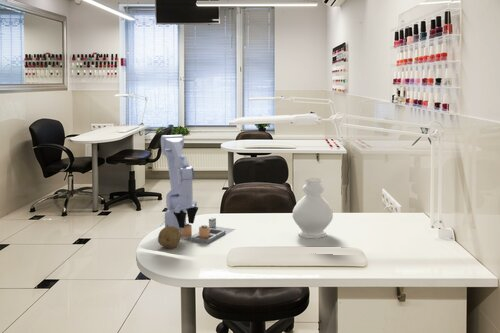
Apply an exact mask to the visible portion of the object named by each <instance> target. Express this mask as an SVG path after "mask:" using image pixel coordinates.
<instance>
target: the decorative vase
mask: <svg viewBox="0 0 500 333" xmlns="http://www.w3.org/2000/svg"><path fill="white" fill-rule="evenodd" d="M304 182H305V184H303V186H302V191H303V192H304V193H305V195H304V196H303V197H301V198H300V199H299V200H298V201H297V203H296V204H295V205H294V207H293V209H292V219H293V221H294V222H295V224H296V225H297V227H299V229H300V230H299V231H298V232H297V234H298V236H300V237H302V238H305V239H322V238H325V237H326V236H327V232H326V231H325V230H326V228H327V227H328V226H329V225H330V223H331V222H332V220H333V216H334V215H333V209H332V207H331V205H330V204H329V202H328V201H327V200H326V199H325V198H324V197H323V196H322V195H321V194H322V193H323V192H324V190H325V187H324V185H323V184H322V182H323V179H322V178H318V177H306V178H305V179H304ZM324 236H325V237H324ZM321 237H322V238H321Z"/></svg>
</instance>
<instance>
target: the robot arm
mask: <svg viewBox="0 0 500 333" xmlns="http://www.w3.org/2000/svg"><path fill="white" fill-rule="evenodd" d="M184 144H185V139H184V136H183V134H170V135H169V134H168V135H167V134H165V135H164V134H162V135H161V137H160V147H161V153H162V155H164V156H165V158H166V162H167V168H168V175H169V181H170V182H169V183H170V191H168V192H167V194H166V196H165V201H166V202H165V204H166V208H167V210H166V211H165V213H164V228H165V227H167V226H174V227H176V228H177V229H178V230H181V228H184V226H185V224H187V222H188V224H190V225H192V224H194V222H195V218H196V214H197V212H198V210H199V206H198V202H197V201H194V200H193V194H194V193H193V180H194V179H195V171H194V167H193V166H192V165H190V162H189V161H188V160H189V159H188V157H187V156H186V155H184V152H183V149H184V146H185V145H184Z"/></svg>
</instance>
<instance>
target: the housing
mask: <svg viewBox="0 0 500 333" xmlns="http://www.w3.org/2000/svg"><path fill="white" fill-rule="evenodd" d="M235 230H236V228H230V227H222V226H216V227H214V228H210V238H209V239H201V238H199V231H198V232H197V233H195V234H192V235H191V236H189V237H186V238H184V239H183V240H184V241H187V242H194V243H199V244H204V245H205V244H206V245H210V244H212V243H214V242H215V241H217V240H219V239H220V238H223V237H225V236H226V235H228V234H230V233H231V232H233V231H235Z"/></svg>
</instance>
